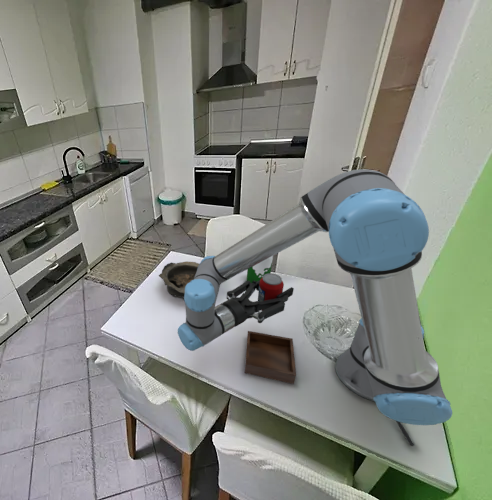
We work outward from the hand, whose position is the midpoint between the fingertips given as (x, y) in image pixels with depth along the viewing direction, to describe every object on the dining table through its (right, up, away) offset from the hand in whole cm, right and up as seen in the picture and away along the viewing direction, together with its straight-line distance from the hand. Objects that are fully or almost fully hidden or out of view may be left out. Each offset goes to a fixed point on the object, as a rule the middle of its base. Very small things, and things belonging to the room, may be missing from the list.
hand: (281, 285), depth 88 cm
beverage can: (-3, -8, +2) cm, 9 cm away
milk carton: (+7, -3, +34) cm, 34 cm away
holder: (-4, -24, 0) cm, 24 cm away
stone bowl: (-23, -6, +35) cm, 43 cm away
